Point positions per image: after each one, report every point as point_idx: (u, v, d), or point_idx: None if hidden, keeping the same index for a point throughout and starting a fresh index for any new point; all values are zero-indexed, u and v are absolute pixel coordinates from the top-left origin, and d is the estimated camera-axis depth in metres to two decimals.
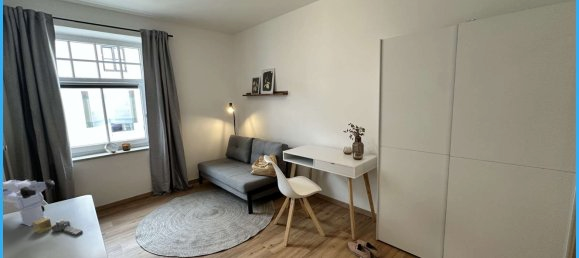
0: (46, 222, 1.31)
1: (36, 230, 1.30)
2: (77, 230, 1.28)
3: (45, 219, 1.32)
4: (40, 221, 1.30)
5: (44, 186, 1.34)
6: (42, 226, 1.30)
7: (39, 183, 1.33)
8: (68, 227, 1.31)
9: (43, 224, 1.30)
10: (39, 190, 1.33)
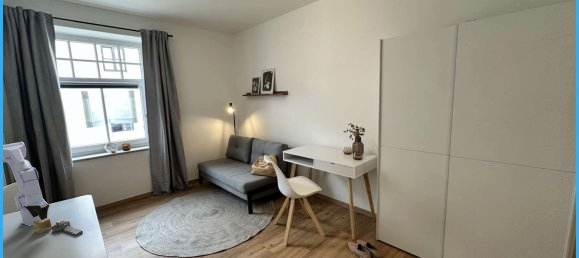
0: (46, 222, 1.31)
1: (36, 230, 1.30)
2: (77, 230, 1.28)
3: (45, 219, 1.32)
4: (40, 221, 1.30)
5: None
6: (42, 226, 1.30)
7: None
8: (68, 227, 1.31)
9: (43, 224, 1.30)
10: None
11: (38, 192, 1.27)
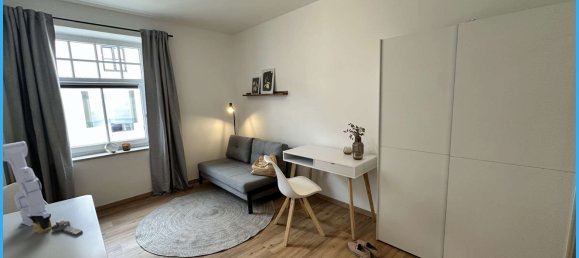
0: None
1: (36, 230, 1.30)
2: (77, 230, 1.28)
3: None
4: None
5: None
6: None
7: None
8: (68, 227, 1.31)
9: None
10: None
11: (41, 202, 1.29)
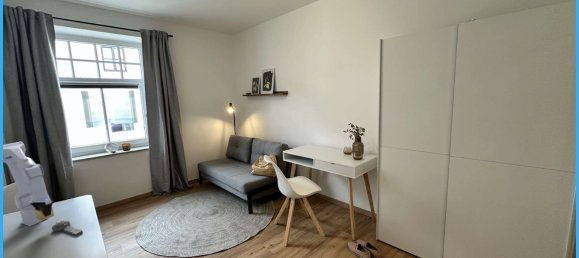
0: None
1: (38, 217, 1.28)
2: (77, 230, 1.28)
3: None
4: None
5: None
6: None
7: None
8: (68, 227, 1.31)
9: None
10: None
11: (43, 189, 1.27)
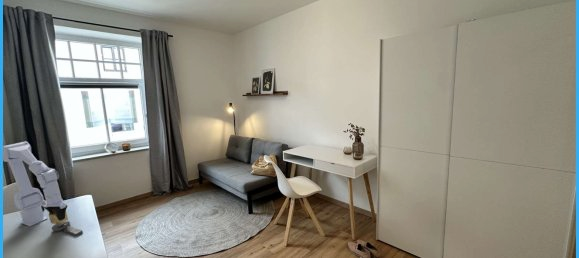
0: None
1: (52, 221, 1.29)
2: (77, 230, 1.28)
3: None
4: None
5: None
6: None
7: None
8: (68, 227, 1.31)
9: None
10: None
11: (57, 193, 1.28)
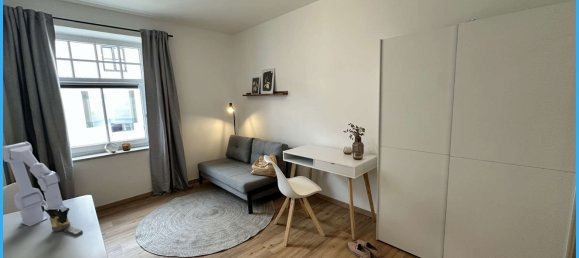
0: None
1: (53, 225, 1.30)
2: (77, 230, 1.28)
3: None
4: None
5: None
6: (59, 222, 1.30)
7: None
8: (68, 227, 1.31)
9: None
10: None
11: (58, 196, 1.28)
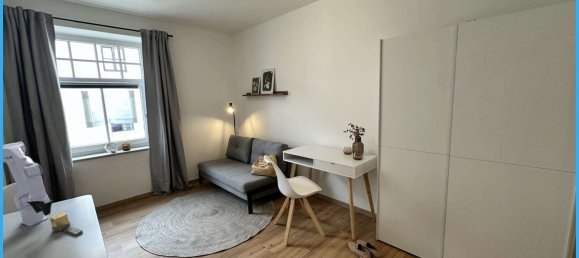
0: (63, 217, 1.31)
1: (54, 225, 1.30)
2: (77, 230, 1.28)
3: (62, 214, 1.32)
4: (57, 216, 1.30)
5: None
6: (60, 222, 1.30)
7: None
8: (68, 227, 1.31)
9: (60, 220, 1.30)
10: None
11: (41, 188, 1.27)
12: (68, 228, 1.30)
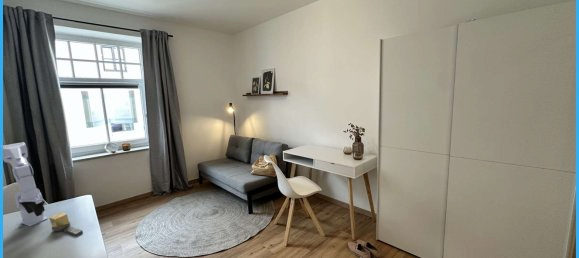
0: (63, 217, 1.31)
1: (53, 225, 1.30)
2: (77, 230, 1.28)
3: (62, 214, 1.32)
4: (57, 216, 1.30)
5: None
6: (60, 222, 1.30)
7: None
8: (68, 227, 1.31)
9: (60, 220, 1.30)
10: None
11: (33, 188, 1.26)
12: (68, 228, 1.30)
